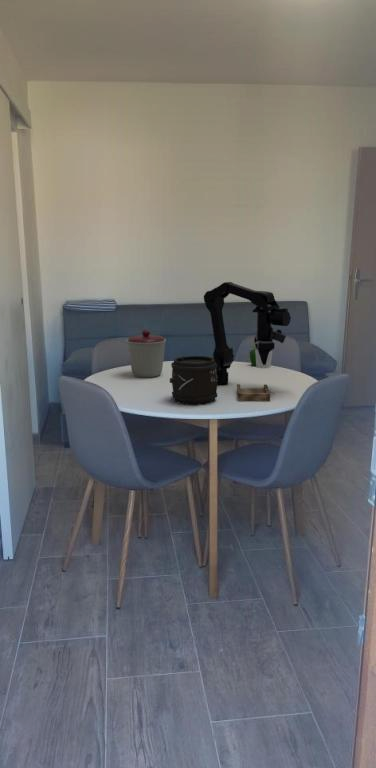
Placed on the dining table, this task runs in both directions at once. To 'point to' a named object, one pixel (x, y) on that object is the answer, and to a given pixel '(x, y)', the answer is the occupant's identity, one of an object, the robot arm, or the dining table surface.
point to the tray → (253, 394)
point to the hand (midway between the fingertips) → (263, 363)
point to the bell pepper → (253, 356)
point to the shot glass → (259, 362)
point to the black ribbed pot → (194, 380)
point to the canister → (146, 354)
